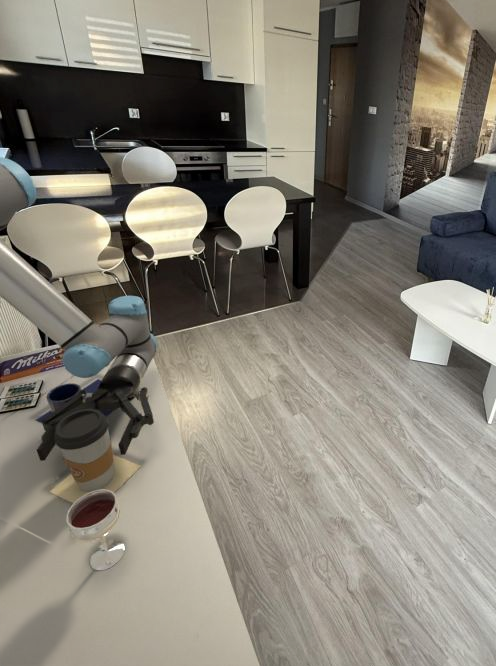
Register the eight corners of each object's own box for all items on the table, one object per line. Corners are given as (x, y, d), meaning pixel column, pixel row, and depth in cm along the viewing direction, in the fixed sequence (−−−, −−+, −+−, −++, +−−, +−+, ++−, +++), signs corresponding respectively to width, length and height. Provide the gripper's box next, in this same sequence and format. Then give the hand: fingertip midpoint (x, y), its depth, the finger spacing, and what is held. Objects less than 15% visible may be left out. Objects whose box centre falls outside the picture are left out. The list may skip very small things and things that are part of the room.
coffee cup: (61, 488, 76) (39, 432, 70) (99, 456, 84) (83, 401, 77) (94, 503, 74) (75, 446, 68) (130, 468, 82) (116, 413, 75)
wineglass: (80, 583, 63) (62, 536, 57) (86, 543, 68) (69, 497, 63) (129, 565, 66) (115, 519, 60) (131, 528, 71) (118, 483, 66)
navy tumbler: (52, 431, 88) (39, 397, 84) (77, 413, 93) (66, 380, 89) (72, 440, 87) (60, 405, 82) (96, 421, 92) (87, 387, 87)
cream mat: (49, 492, 76) (49, 491, 76) (100, 449, 85) (100, 449, 85) (93, 513, 73) (93, 512, 73) (141, 466, 82) (140, 466, 82)
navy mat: (35, 420, 91) (35, 420, 91) (98, 379, 105) (97, 379, 105) (78, 438, 87) (78, 437, 87) (136, 393, 101) (136, 392, 101)
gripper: (181, 388, 96) (156, 461, 78) (67, 393, 92) (11, 472, 73) (178, 363, 93) (151, 433, 74) (59, 367, 88) (-2, 442, 70)
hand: (81, 452), depth 74 cm, fingers open, 13 cm apart
